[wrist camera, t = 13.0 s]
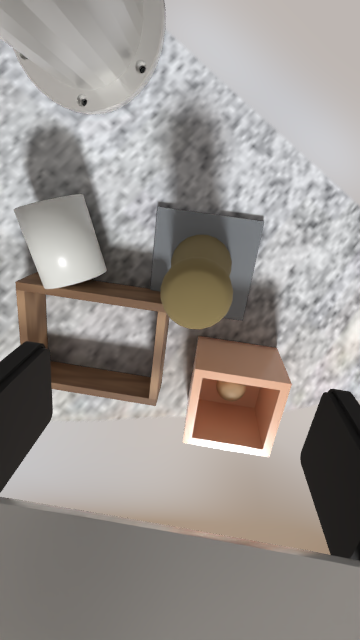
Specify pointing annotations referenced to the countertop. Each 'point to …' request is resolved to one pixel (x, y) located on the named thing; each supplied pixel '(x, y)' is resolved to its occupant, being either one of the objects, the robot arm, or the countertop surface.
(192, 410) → the copper open box
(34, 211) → the white plastic tumbler
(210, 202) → the countertop surface
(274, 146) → the countertop surface
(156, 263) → the slate coaster
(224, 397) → the cork ball
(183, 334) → the countertop surface
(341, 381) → the countertop surface
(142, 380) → the walnut open frame
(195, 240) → the pepper shaker
